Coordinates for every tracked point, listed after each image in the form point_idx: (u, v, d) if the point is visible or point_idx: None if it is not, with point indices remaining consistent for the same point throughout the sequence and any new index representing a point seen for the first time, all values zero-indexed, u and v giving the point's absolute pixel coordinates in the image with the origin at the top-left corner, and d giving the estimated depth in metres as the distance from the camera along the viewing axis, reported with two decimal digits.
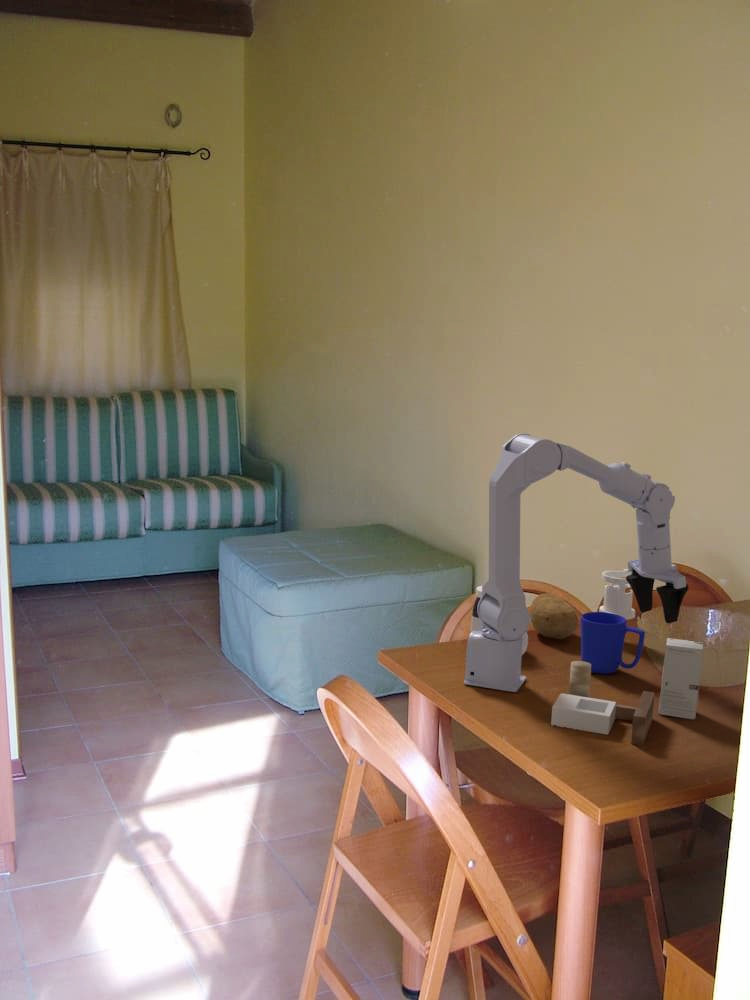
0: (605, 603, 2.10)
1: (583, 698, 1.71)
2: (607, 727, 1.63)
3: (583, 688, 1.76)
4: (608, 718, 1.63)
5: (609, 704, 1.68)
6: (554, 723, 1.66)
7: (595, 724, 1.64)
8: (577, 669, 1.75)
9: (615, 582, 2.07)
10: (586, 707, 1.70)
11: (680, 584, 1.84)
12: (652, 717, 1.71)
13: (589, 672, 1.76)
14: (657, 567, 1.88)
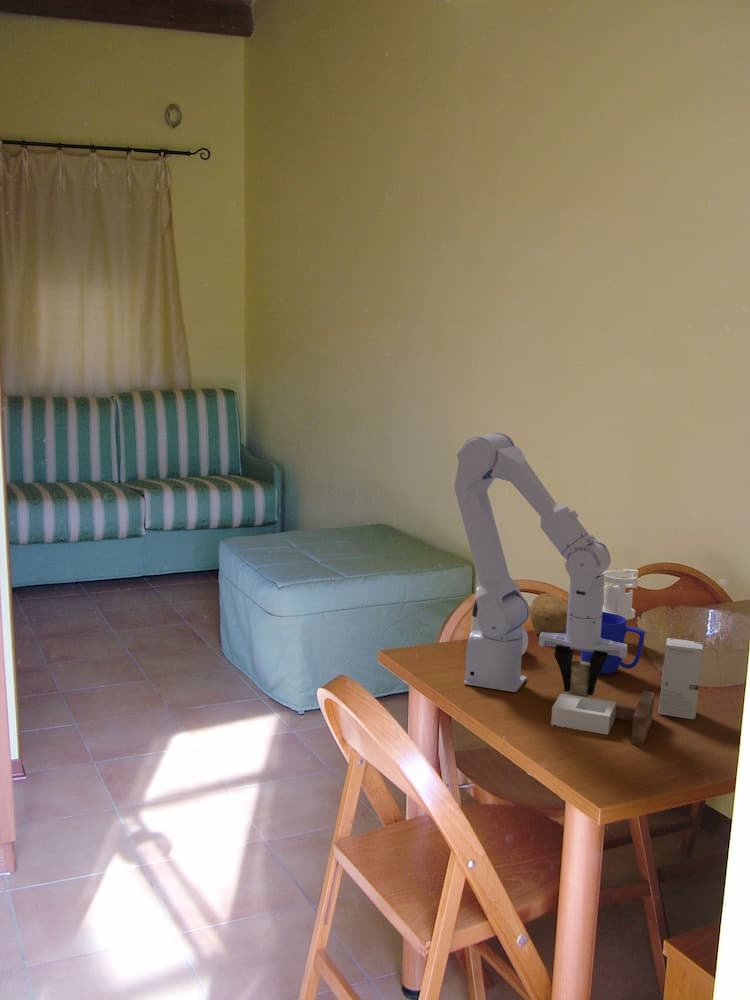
0: (605, 603, 2.10)
1: (583, 698, 1.71)
2: (607, 727, 1.63)
3: (583, 688, 1.76)
4: (608, 718, 1.63)
5: (609, 704, 1.68)
6: (554, 723, 1.66)
7: (595, 724, 1.64)
8: (577, 669, 1.75)
9: (615, 582, 2.07)
10: (586, 707, 1.70)
11: (626, 652, 1.74)
12: (652, 717, 1.71)
13: (589, 672, 1.76)
14: (597, 637, 1.74)
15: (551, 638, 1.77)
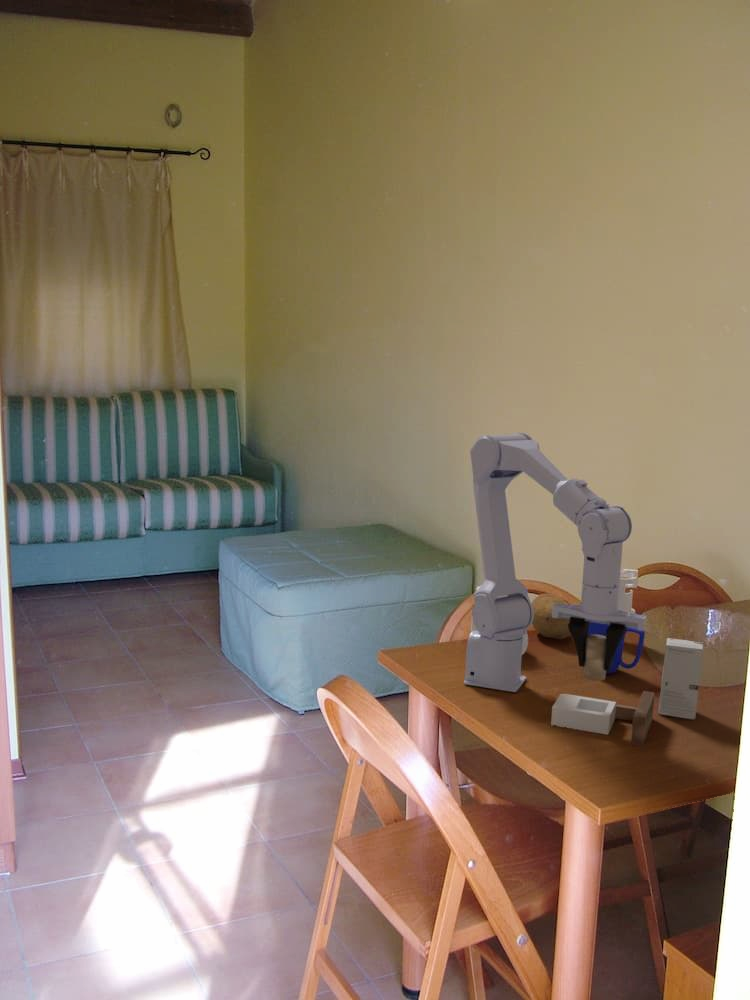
0: None
1: (583, 698, 1.71)
2: (607, 727, 1.63)
3: (600, 663, 1.65)
4: (608, 718, 1.63)
5: (609, 704, 1.68)
6: (554, 723, 1.66)
7: (595, 724, 1.64)
8: (593, 643, 1.64)
9: None
10: (586, 707, 1.70)
11: (644, 625, 1.62)
12: (652, 717, 1.71)
13: None
14: (613, 607, 1.62)
15: (565, 609, 1.66)
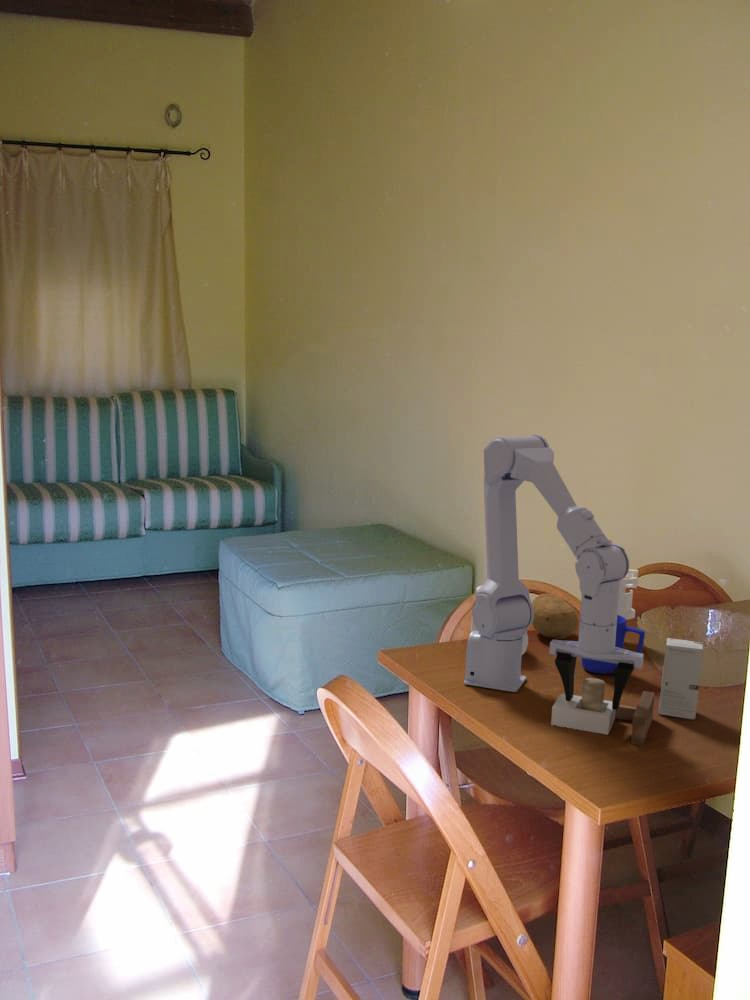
0: None
1: None
2: (607, 727, 1.63)
3: (596, 707, 1.66)
4: (608, 718, 1.63)
5: (609, 704, 1.68)
6: (554, 723, 1.66)
7: (595, 724, 1.64)
8: (590, 687, 1.65)
9: None
10: None
11: (641, 663, 1.63)
12: (652, 717, 1.71)
13: (602, 690, 1.66)
14: (611, 645, 1.63)
15: (562, 646, 1.67)
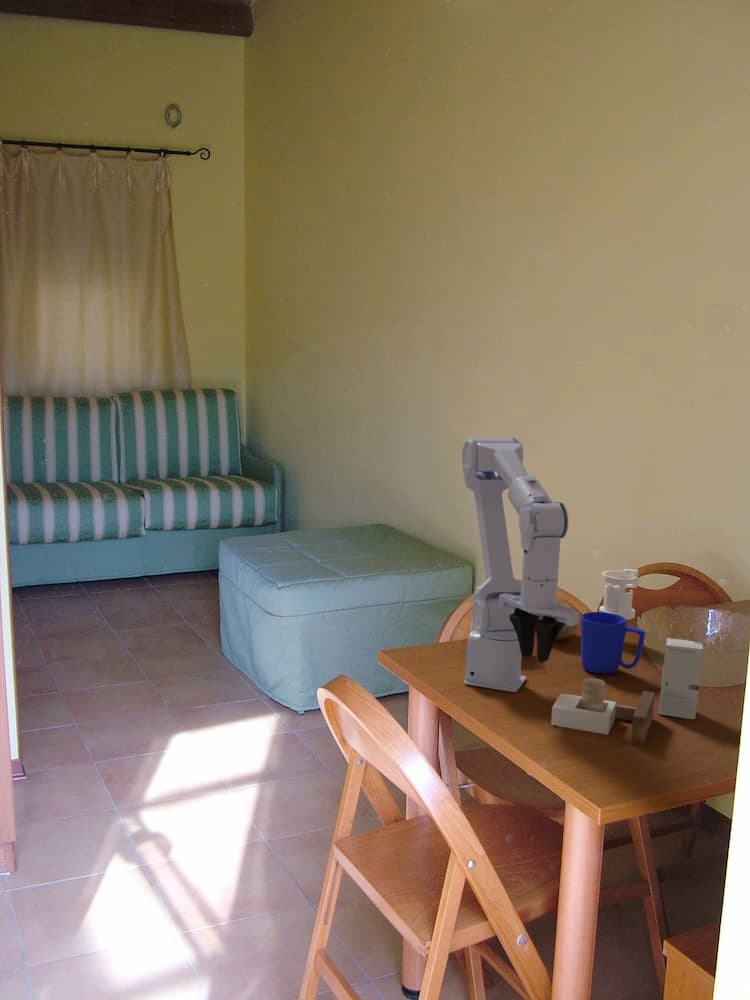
0: (605, 603, 2.10)
1: None
2: (607, 727, 1.63)
3: (596, 707, 1.66)
4: (608, 718, 1.63)
5: (609, 704, 1.68)
6: (554, 723, 1.66)
7: (595, 724, 1.64)
8: (590, 687, 1.65)
9: (615, 582, 2.07)
10: None
11: (574, 621, 1.63)
12: (652, 717, 1.71)
13: (602, 690, 1.66)
14: (546, 601, 1.65)
15: (508, 599, 1.71)
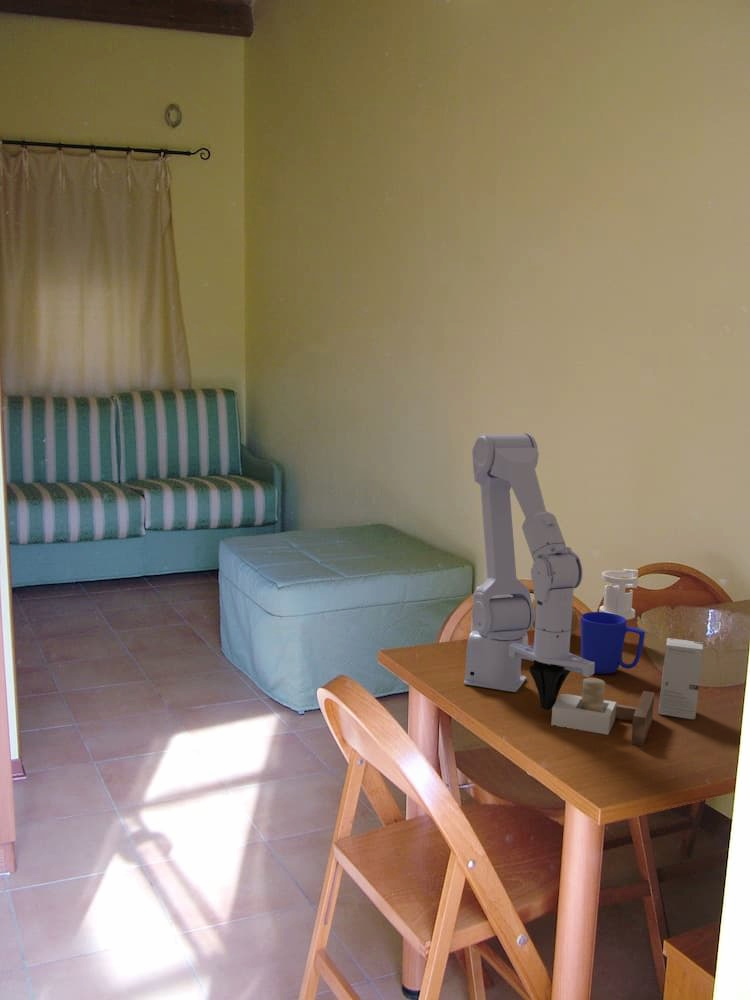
0: (605, 603, 2.10)
1: None
2: (607, 727, 1.63)
3: (596, 707, 1.66)
4: (608, 718, 1.63)
5: (609, 704, 1.68)
6: (554, 723, 1.66)
7: (596, 724, 1.64)
8: (590, 687, 1.65)
9: (615, 582, 2.07)
10: None
11: (591, 671, 1.64)
12: (652, 717, 1.71)
13: (602, 690, 1.66)
14: (561, 651, 1.66)
15: (519, 649, 1.71)
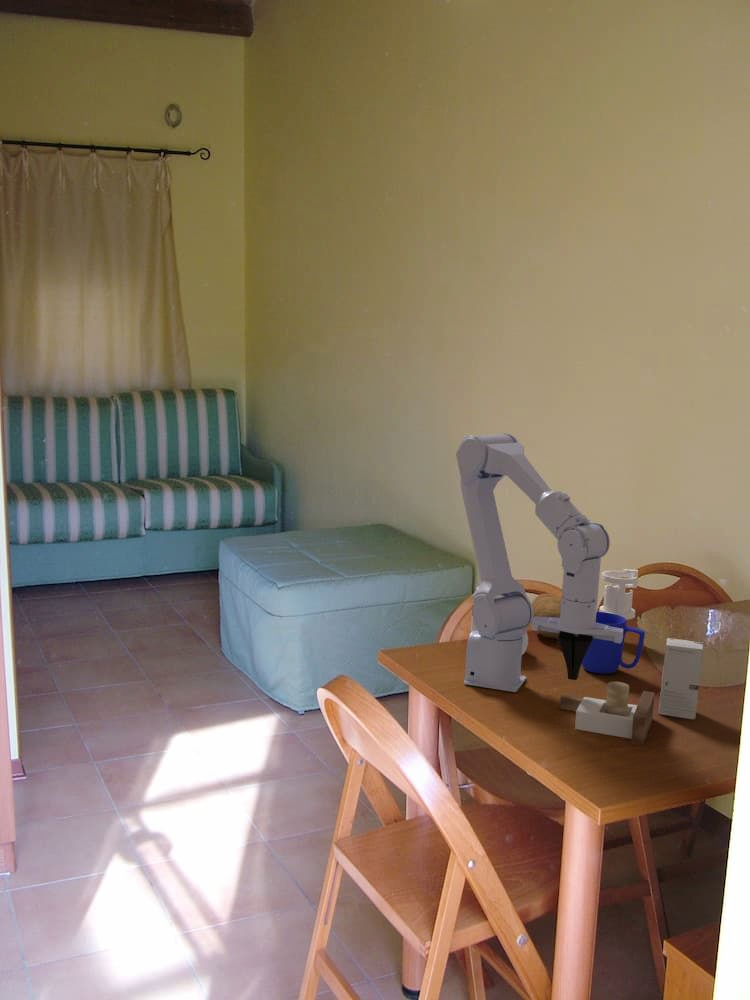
0: (605, 603, 2.10)
1: None
2: None
3: (621, 711, 1.64)
4: None
5: (633, 708, 1.67)
6: (578, 727, 1.65)
7: (620, 728, 1.63)
8: (614, 691, 1.64)
9: (615, 582, 2.07)
10: None
11: (621, 638, 1.68)
12: (652, 717, 1.71)
13: (627, 694, 1.65)
14: (592, 621, 1.68)
15: (544, 622, 1.71)
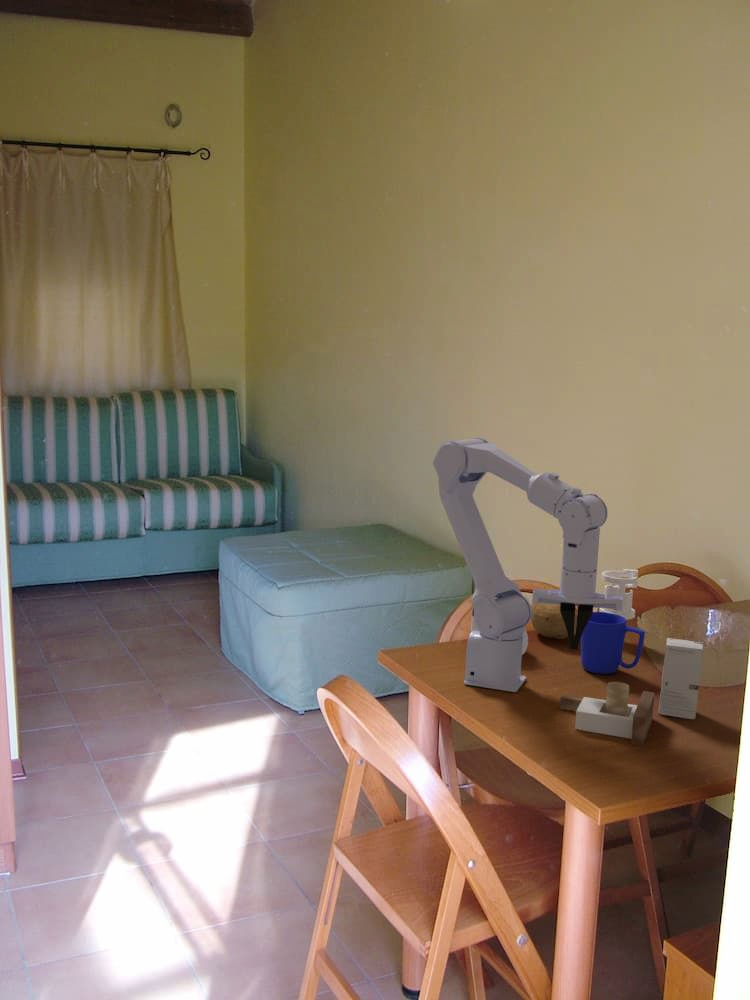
0: None
1: None
2: None
3: (621, 711, 1.64)
4: None
5: (633, 708, 1.67)
6: (578, 727, 1.65)
7: (620, 728, 1.63)
8: (614, 691, 1.64)
9: (615, 582, 2.07)
10: None
11: None
12: (652, 717, 1.71)
13: (627, 694, 1.65)
14: (593, 590, 1.71)
15: (546, 594, 1.72)
